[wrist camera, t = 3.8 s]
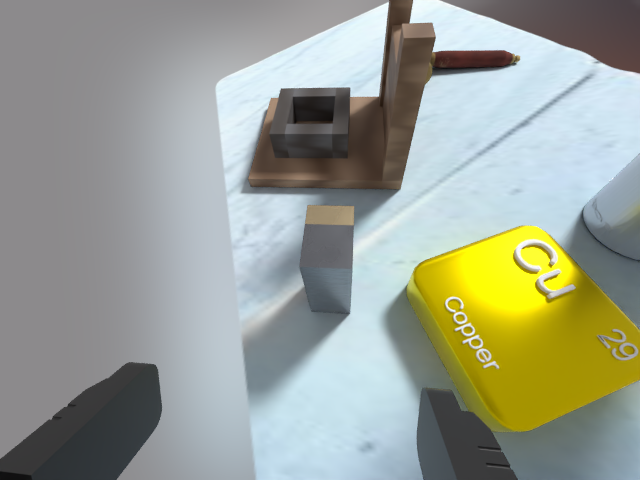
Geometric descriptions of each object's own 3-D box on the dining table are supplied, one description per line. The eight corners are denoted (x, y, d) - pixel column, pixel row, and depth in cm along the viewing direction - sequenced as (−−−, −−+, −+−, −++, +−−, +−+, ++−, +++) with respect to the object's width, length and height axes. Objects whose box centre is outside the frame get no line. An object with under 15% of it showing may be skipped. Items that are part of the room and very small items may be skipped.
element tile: (398, 284, 33) (405, 263, 29) (517, 241, 35) (539, 215, 31) (483, 441, 25) (510, 442, 21) (631, 373, 27) (681, 363, 23)
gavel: (516, 30, 53) (539, 60, 48) (503, 57, 57) (523, 88, 52) (397, 31, 53) (407, 61, 48) (392, 58, 57) (401, 89, 52)
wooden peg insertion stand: (393, 105, 49) (416, -42, 34) (400, 189, 39) (435, 37, 24) (272, 106, 51) (242, -32, 36) (251, 186, 41) (197, 44, 26)
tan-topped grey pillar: (351, 262, 34) (354, 206, 26) (350, 313, 31) (352, 269, 23) (316, 260, 35) (307, 205, 26) (311, 311, 31) (299, 266, 23)
